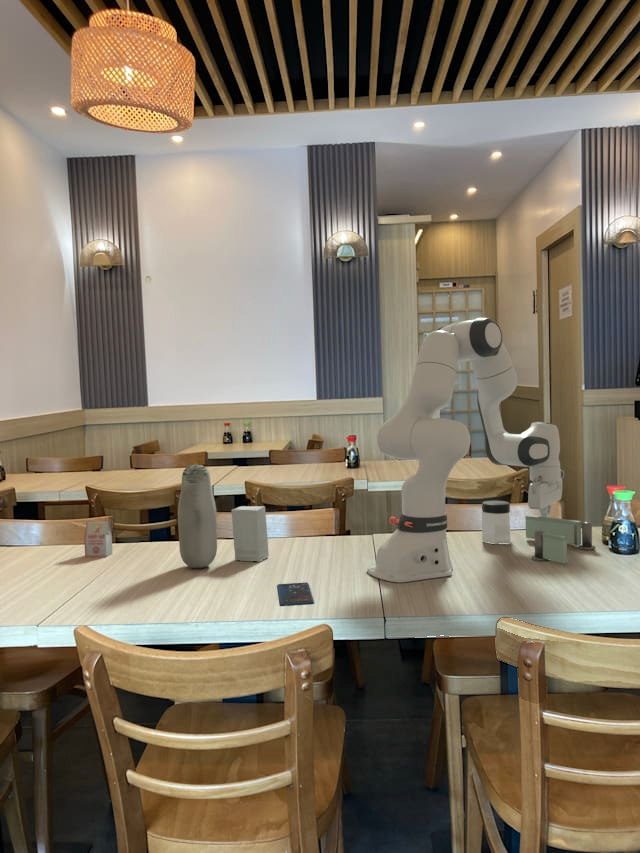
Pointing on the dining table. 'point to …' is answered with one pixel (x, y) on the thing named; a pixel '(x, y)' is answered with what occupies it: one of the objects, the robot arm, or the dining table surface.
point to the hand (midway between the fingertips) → (545, 519)
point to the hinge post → (587, 536)
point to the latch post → (538, 547)
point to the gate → (554, 527)
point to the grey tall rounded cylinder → (197, 518)
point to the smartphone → (294, 594)
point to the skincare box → (250, 533)
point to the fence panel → (554, 547)
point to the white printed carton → (98, 539)
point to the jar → (496, 522)
